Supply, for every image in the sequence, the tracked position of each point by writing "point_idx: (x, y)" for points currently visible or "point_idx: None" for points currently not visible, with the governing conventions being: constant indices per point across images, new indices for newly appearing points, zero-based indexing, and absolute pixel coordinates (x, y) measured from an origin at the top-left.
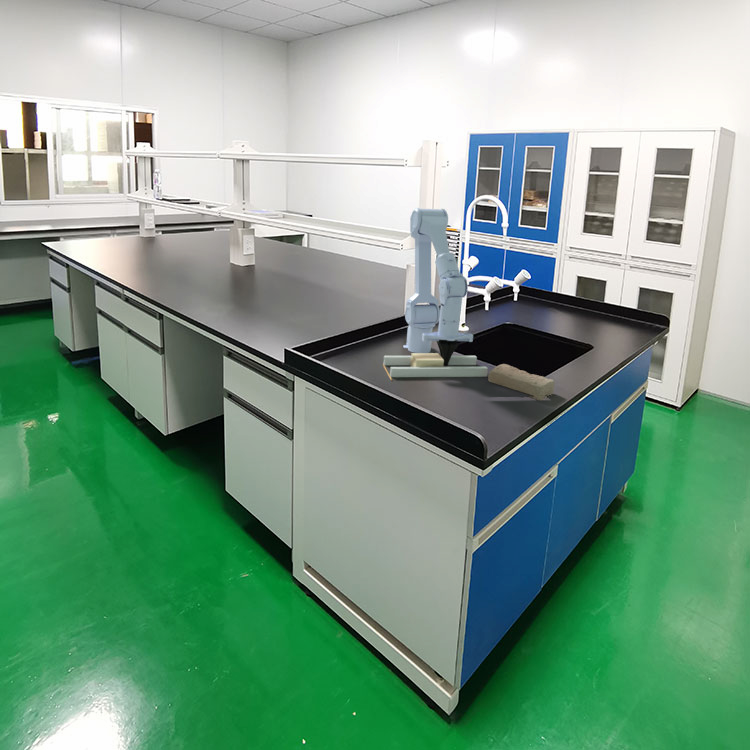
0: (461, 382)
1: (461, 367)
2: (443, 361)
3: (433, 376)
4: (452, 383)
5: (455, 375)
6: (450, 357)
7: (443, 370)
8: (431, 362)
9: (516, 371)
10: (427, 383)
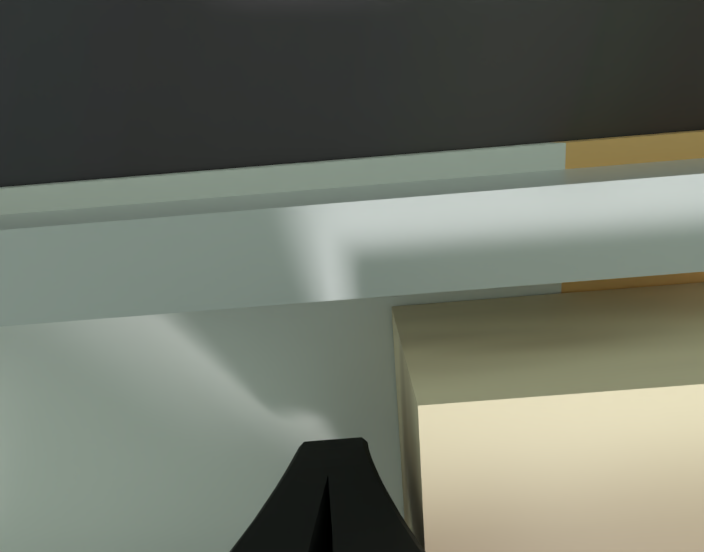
0: (162, 87)
1: (81, 277)
2: (420, 390)
3: (557, 172)
4: (299, 38)
5: (223, 200)
6: (247, 531)
7: (432, 189)
8: (664, 359)
9: None
10: (662, 17)
